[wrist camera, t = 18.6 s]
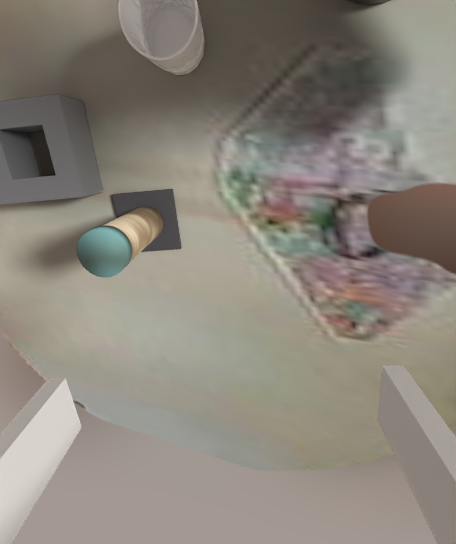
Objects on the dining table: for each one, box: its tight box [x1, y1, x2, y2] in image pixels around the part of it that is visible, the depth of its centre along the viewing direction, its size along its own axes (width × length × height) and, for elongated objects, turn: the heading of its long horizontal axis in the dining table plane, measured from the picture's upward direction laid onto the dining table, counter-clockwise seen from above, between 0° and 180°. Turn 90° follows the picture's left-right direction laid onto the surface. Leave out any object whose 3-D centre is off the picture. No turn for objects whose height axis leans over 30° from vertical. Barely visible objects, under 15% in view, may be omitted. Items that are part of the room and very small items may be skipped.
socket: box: [0, 94, 103, 205], centre depth 43 cm, size 12×12×6 cm
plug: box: [77, 206, 164, 277], centre depth 40 cm, size 5×5×16 cm
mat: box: [112, 189, 181, 252], centre depth 48 cm, size 9×9×1 cm
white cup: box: [118, 0, 205, 75], centre depth 35 cm, size 8×8×10 cm
